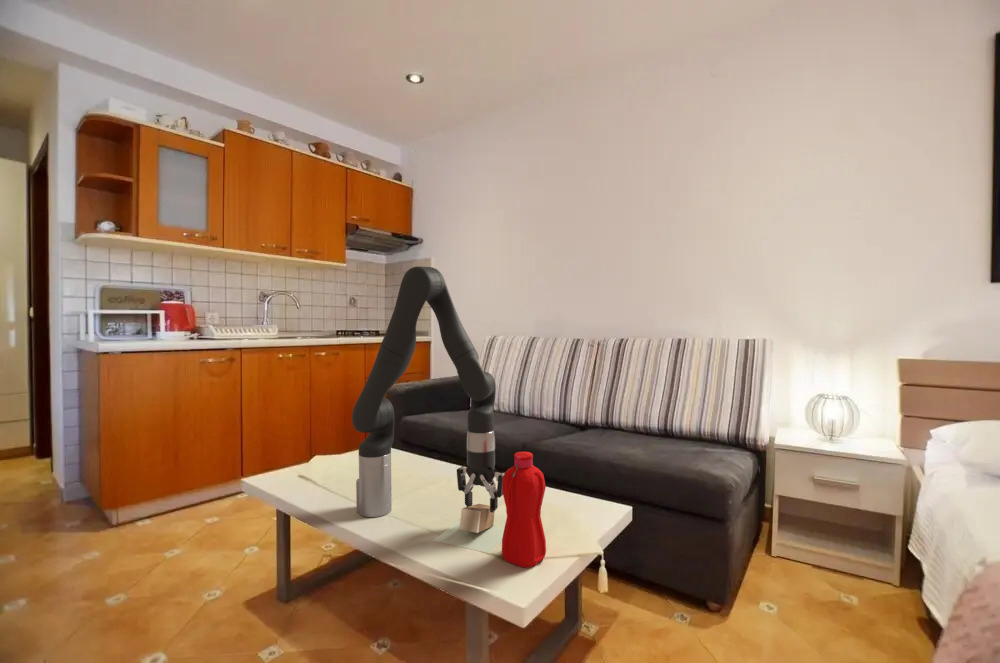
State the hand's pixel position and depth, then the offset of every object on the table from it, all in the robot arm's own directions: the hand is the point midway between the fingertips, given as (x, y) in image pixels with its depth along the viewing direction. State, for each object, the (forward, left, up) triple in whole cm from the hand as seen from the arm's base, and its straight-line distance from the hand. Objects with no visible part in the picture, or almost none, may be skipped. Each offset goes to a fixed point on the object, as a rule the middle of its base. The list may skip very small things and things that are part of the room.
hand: (481, 508), depth 122 cm
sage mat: (0, -4, -6) cm, 7 cm away
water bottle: (+16, -10, -6) cm, 19 cm away
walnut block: (0, +3, -3) cm, 4 cm away
